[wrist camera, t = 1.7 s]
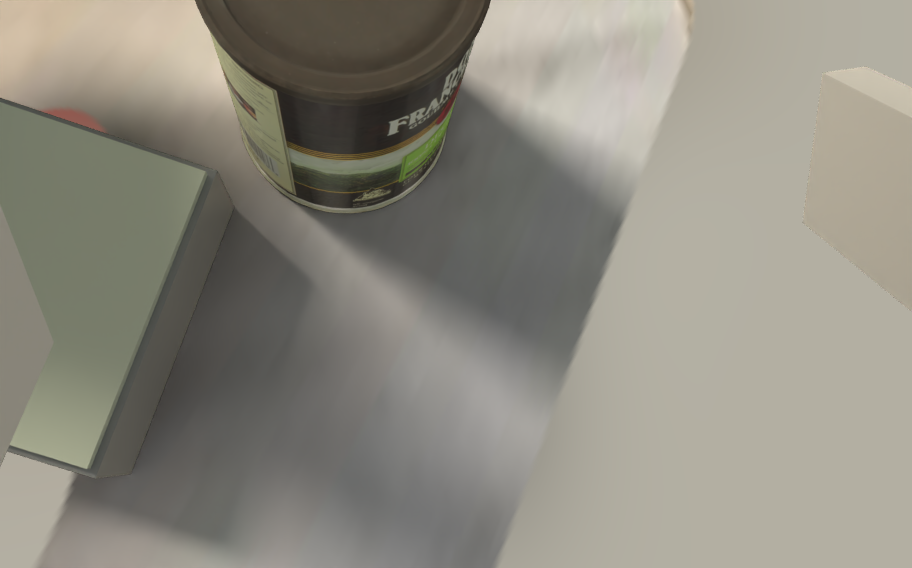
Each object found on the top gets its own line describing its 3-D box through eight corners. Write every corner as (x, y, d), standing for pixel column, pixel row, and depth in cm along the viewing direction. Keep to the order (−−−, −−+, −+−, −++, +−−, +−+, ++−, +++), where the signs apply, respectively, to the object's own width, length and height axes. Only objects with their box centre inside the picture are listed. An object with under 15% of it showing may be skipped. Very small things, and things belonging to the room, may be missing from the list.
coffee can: (484, 84, 43) (548, -84, 30) (381, 253, 41) (399, 156, 27) (309, -19, 43) (292, -235, 30) (196, 144, 41) (120, -7, 27)
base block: (-160, 383, 37) (-255, 371, 31) (-34, 117, 40) (-100, 61, 34) (131, 473, 38) (91, 479, 32) (234, 207, 41) (215, 166, 35)
